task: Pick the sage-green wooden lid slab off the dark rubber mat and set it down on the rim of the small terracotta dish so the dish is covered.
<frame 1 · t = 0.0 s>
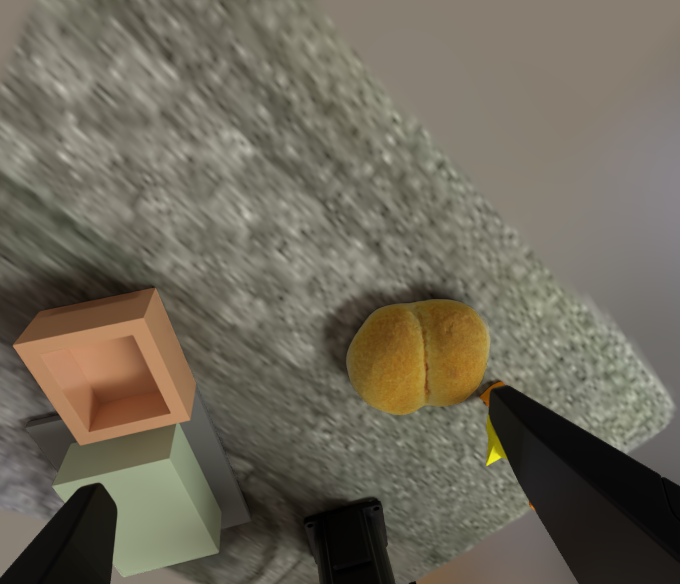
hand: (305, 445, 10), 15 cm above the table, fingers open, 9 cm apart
mat: (154, 475, 30), on the table
lid: (153, 481, 29), resting on mat
dish: (124, 350, 25), on the table
toy figure: (495, 391, 32), on the table
bread roll: (412, 342, 29), on the table
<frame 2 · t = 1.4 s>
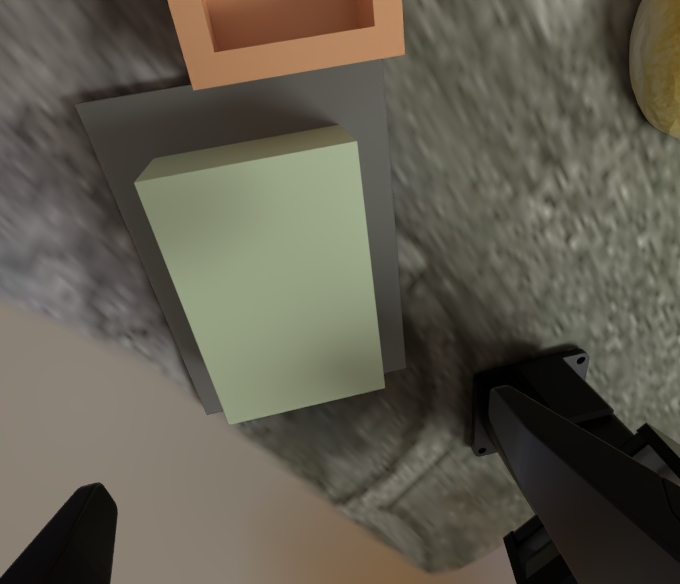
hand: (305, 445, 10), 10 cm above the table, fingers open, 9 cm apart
mat: (277, 261, 18), on the table
lid: (278, 266, 18), resting on mat
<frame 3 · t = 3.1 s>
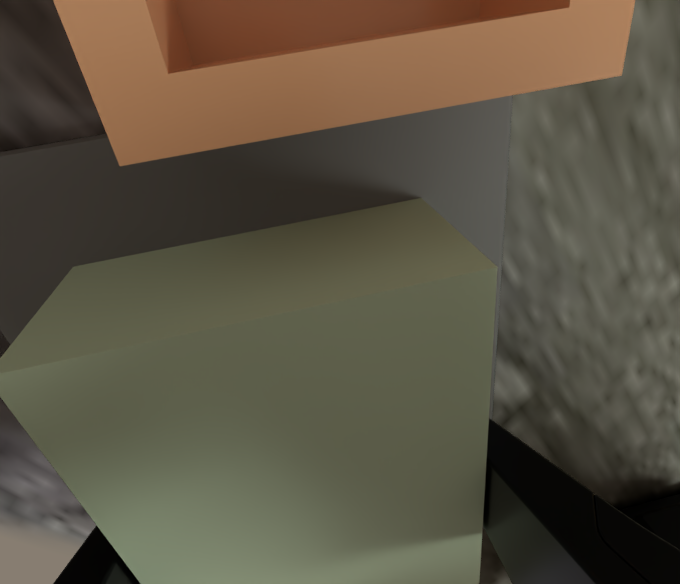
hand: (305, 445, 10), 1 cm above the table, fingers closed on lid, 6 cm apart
mat: (300, 404, 11), on the table
lid: (302, 418, 11), resting on mat, touching gripper
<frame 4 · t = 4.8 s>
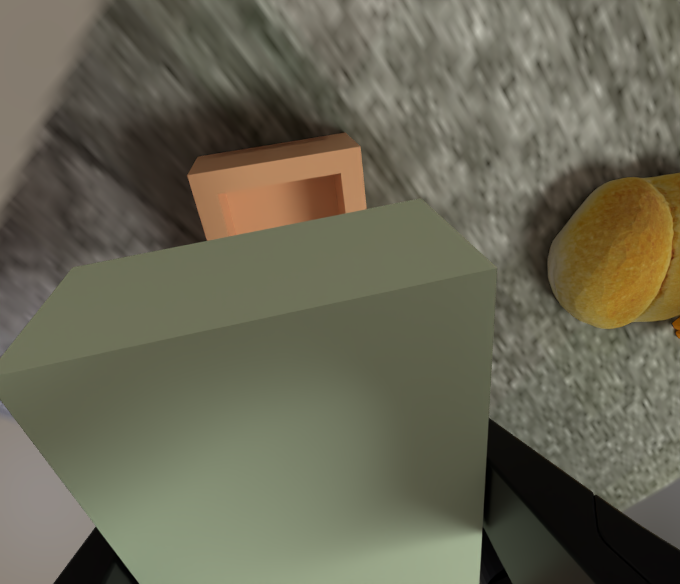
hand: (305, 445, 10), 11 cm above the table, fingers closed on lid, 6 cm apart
lid: (301, 419, 11), point 11 cm above the table, touching gripper
dish: (288, 225, 19), on the table
bread roll: (619, 242, 23), on the table
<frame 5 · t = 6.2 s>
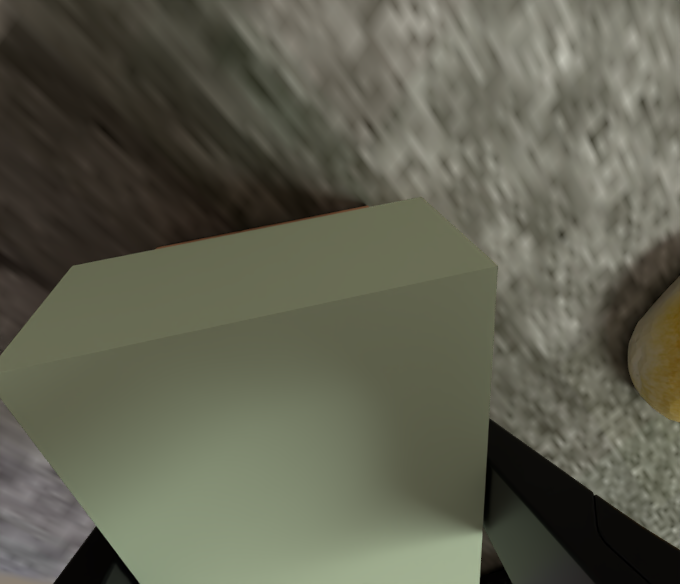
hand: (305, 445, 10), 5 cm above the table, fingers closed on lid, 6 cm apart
lid: (301, 418, 11), point 4 cm above the table, touching gripper
dish: (289, 326, 14), on the table
when the fingers open (5 cm above the table, at t = 7.0 s): lid stays where it is, resting on dish.
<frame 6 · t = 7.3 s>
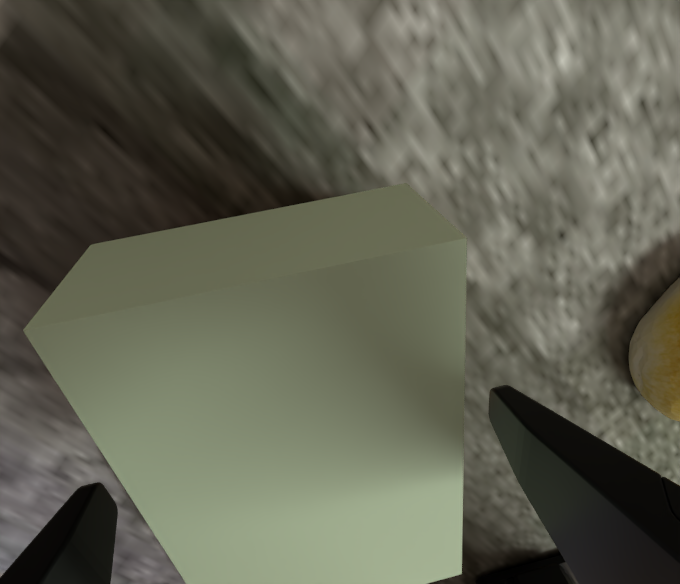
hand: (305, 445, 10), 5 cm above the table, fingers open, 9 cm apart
lid: (298, 390, 11), point 3 cm above the table, touching dish
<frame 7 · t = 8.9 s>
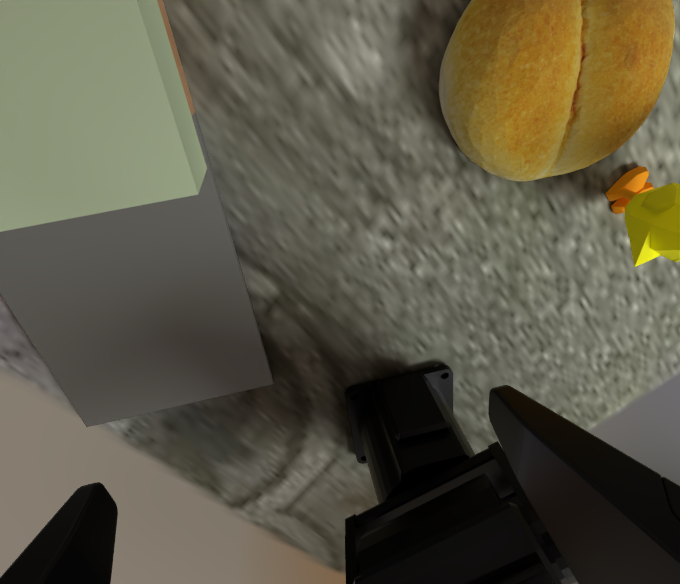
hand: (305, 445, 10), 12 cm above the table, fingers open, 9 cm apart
mat: (133, 290, 20), on the table
lid: (39, 13, 12), point 3 cm above the table, touching dish
dish: (75, 17, 15), on the table
toy figure: (626, 187, 22), on the table
bread roll: (533, 71, 19), on the table
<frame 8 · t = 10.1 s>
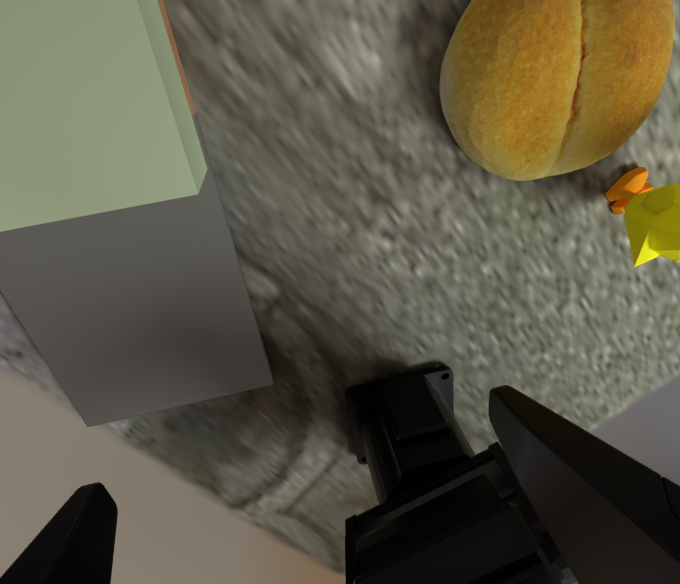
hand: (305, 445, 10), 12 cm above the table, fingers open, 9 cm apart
mat: (134, 290, 20), on the table
lid: (41, 15, 12), point 3 cm above the table, touching dish
dish: (76, 20, 15), on the table
toy figure: (626, 187, 22), on the table
bread roll: (534, 71, 19), on the table
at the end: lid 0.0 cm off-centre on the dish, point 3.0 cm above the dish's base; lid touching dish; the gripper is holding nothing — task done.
